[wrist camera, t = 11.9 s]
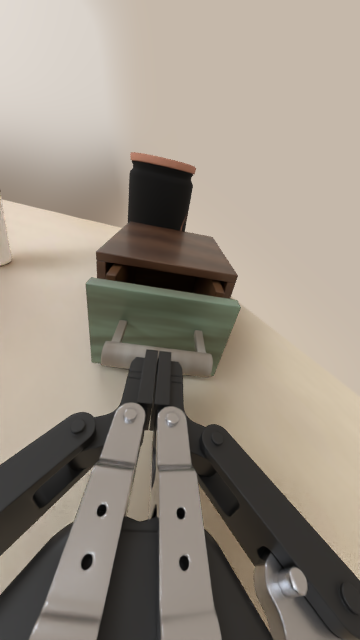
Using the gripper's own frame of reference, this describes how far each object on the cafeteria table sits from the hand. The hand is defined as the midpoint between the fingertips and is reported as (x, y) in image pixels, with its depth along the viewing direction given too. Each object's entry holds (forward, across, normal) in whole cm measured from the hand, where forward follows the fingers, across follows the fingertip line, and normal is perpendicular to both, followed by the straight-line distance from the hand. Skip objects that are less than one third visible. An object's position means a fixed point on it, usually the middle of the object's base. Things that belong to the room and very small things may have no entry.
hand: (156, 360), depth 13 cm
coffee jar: (+33, +3, +7) cm, 34 cm away
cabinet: (+16, 0, +6) cm, 18 cm away
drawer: (+9, 0, +5) cm, 11 cm away
